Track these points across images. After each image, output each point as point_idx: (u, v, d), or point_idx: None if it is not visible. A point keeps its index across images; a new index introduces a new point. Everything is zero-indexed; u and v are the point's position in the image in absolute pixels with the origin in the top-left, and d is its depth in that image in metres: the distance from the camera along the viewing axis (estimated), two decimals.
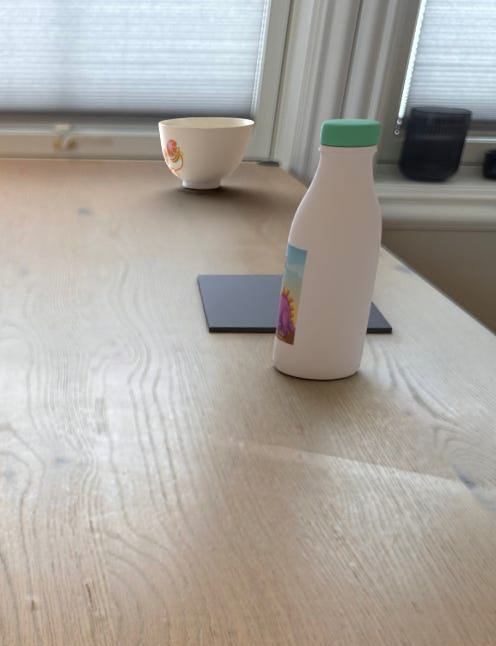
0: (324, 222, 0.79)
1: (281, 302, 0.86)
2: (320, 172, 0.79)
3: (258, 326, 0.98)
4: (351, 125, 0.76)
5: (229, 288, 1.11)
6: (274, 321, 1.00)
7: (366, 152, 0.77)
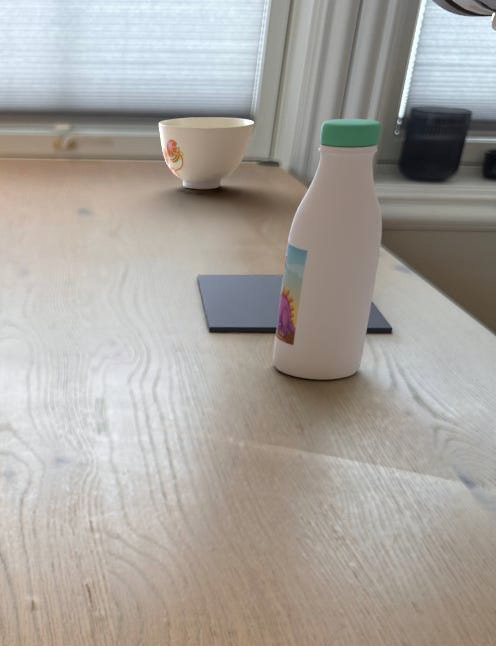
0: (324, 222, 0.79)
1: (281, 302, 0.86)
2: (320, 172, 0.79)
3: (258, 326, 0.98)
4: (351, 125, 0.76)
5: (229, 288, 1.11)
6: (274, 321, 1.00)
7: (366, 152, 0.77)
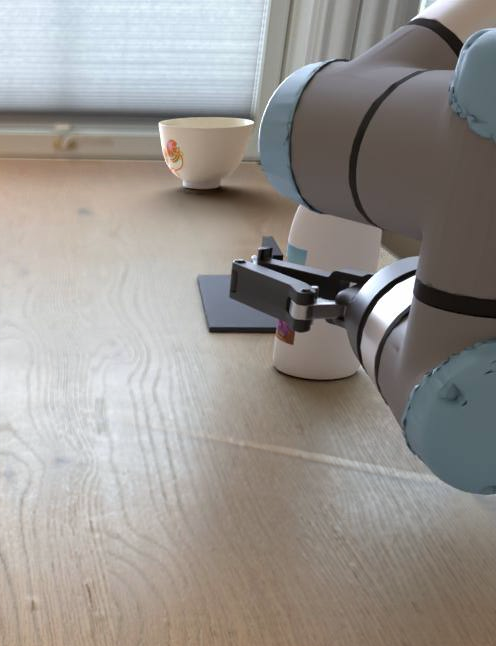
0: (324, 222, 0.79)
1: None
2: None
3: (258, 326, 0.98)
4: None
5: (229, 288, 1.11)
6: (274, 321, 1.00)
7: None
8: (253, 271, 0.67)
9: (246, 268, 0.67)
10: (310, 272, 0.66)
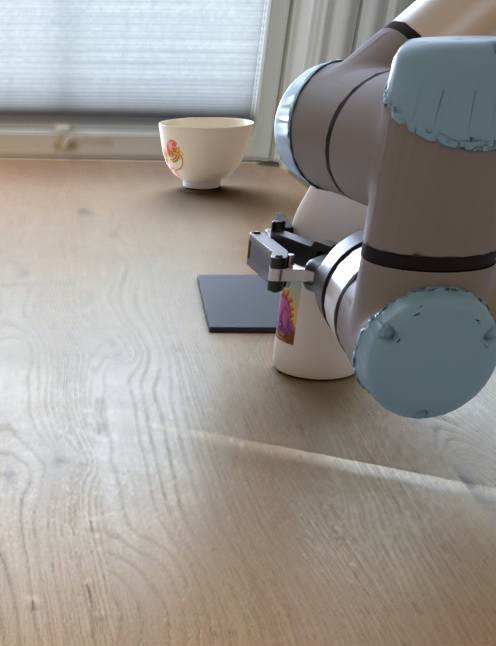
0: (324, 222, 0.79)
1: (281, 302, 0.86)
2: None
3: (258, 326, 0.98)
4: None
5: (229, 288, 1.11)
6: (274, 321, 1.00)
7: None
8: (257, 240, 0.78)
9: (255, 238, 0.79)
10: (301, 242, 0.77)
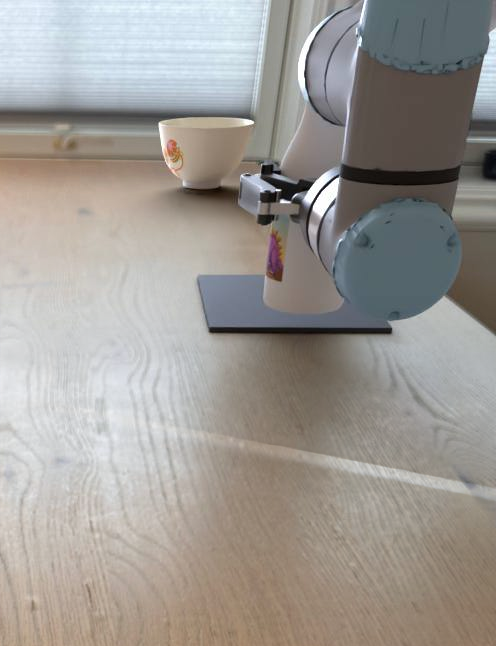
0: (309, 164, 0.86)
1: (270, 242, 0.93)
2: (305, 118, 0.86)
3: (258, 326, 0.98)
4: None
5: (229, 288, 1.11)
6: (274, 321, 1.00)
7: None
8: (248, 180, 0.85)
9: (245, 179, 0.86)
10: (288, 181, 0.84)
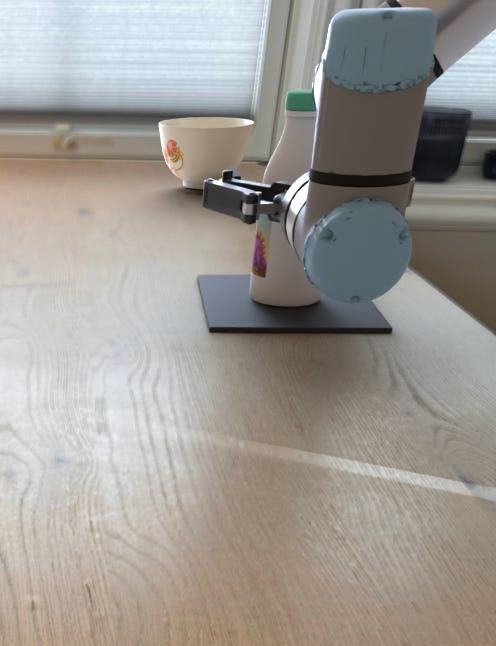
0: (289, 173, 0.97)
1: (255, 242, 1.04)
2: (285, 132, 0.97)
3: (258, 326, 0.98)
4: (309, 93, 0.94)
5: (229, 288, 1.11)
6: (274, 321, 1.00)
7: None
8: (218, 185, 0.95)
9: (213, 184, 0.95)
10: (258, 185, 0.94)
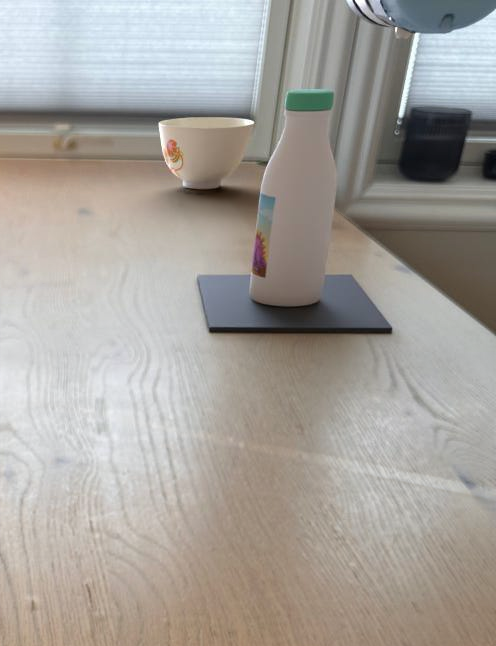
0: (288, 173, 0.97)
1: (255, 242, 1.04)
2: (285, 132, 0.97)
3: (258, 326, 0.98)
4: (309, 93, 0.94)
5: (229, 288, 1.11)
6: (274, 321, 1.00)
7: (322, 115, 0.95)
8: None
9: None
10: None
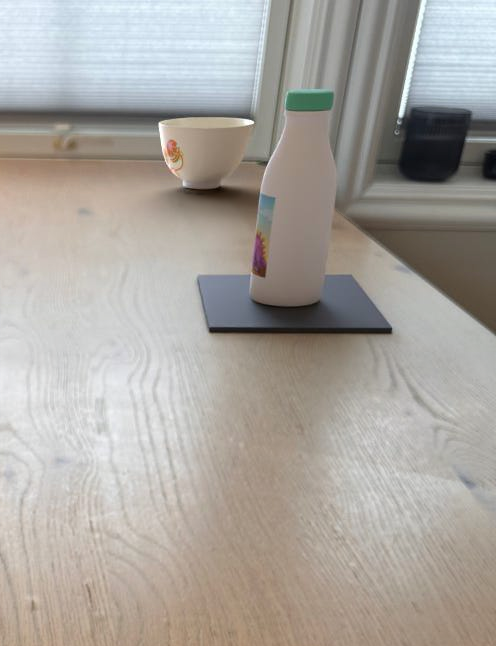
0: (288, 173, 0.97)
1: (255, 242, 1.04)
2: (285, 132, 0.97)
3: (258, 326, 0.98)
4: (309, 93, 0.94)
5: (229, 288, 1.11)
6: (274, 321, 1.00)
7: (322, 115, 0.95)
8: None
9: None
10: None
